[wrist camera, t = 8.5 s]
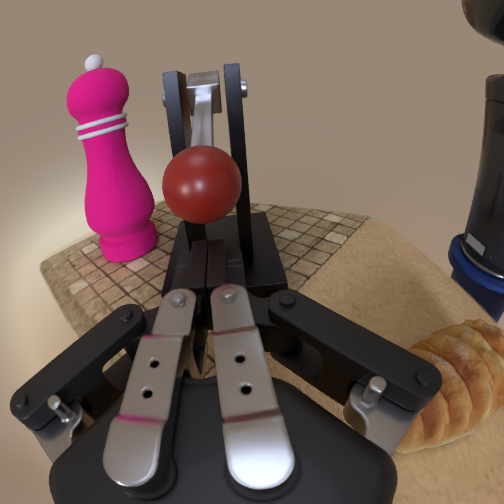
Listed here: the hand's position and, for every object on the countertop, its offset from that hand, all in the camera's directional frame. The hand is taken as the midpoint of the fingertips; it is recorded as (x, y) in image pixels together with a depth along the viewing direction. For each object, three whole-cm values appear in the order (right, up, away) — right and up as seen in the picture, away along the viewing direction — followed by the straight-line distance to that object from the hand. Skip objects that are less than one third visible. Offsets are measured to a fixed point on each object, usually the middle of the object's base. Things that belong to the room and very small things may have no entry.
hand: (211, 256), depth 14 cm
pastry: (+12, -8, -2) cm, 15 cm away
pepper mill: (-11, +1, +15) cm, 18 cm away
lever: (-1, +6, +3) cm, 7 cm away
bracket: (-1, 0, +12) cm, 12 cm away
